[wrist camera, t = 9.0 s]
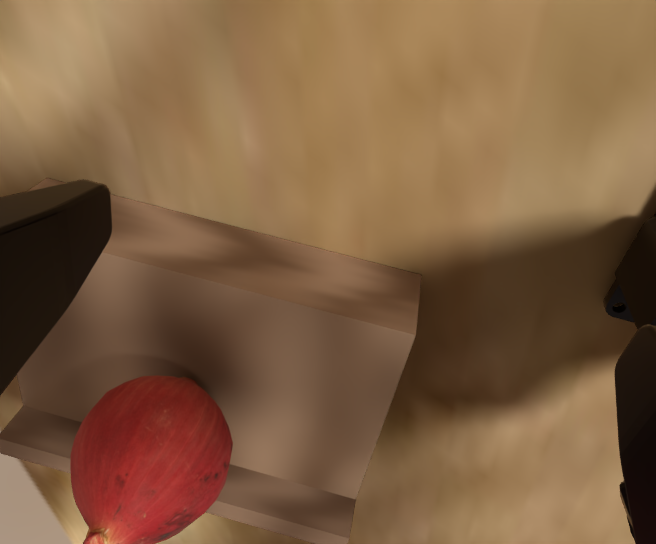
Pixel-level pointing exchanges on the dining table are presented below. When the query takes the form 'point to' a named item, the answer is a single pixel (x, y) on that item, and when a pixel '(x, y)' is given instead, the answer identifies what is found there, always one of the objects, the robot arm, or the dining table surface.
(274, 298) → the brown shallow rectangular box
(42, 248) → the robot arm
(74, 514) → the dining table surface
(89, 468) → the onion
